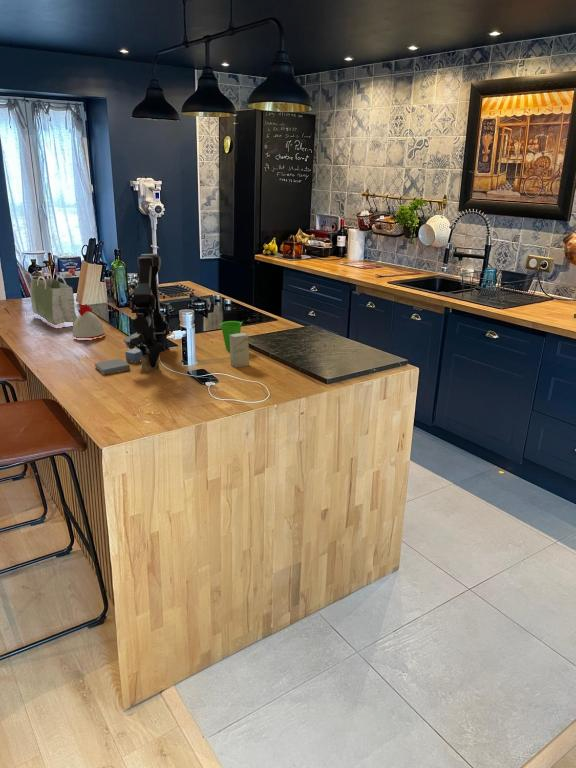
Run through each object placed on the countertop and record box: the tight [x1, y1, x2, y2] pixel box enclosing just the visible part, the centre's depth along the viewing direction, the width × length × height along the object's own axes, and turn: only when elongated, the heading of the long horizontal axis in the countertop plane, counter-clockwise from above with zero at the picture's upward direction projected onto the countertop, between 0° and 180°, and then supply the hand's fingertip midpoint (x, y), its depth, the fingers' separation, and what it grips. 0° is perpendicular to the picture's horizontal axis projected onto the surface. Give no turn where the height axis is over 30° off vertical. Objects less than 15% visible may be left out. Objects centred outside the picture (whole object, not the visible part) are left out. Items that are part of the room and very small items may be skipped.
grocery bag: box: [29, 274, 78, 325], centre depth 291 cm, size 32×14×23 cm, turn 40°
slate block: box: [124, 348, 142, 363], centre depth 231 cm, size 5×5×4 cm
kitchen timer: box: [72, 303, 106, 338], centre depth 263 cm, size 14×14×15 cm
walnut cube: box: [140, 354, 160, 372], centre depth 221 cm, size 5×5×5 cm
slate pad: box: [94, 358, 131, 375], centre depth 222 cm, size 10×10×2 cm
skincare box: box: [229, 332, 250, 368], centre depth 221 cm, size 6×4×12 cm
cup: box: [219, 320, 243, 352], centre depth 241 cm, size 9×9×11 cm
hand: (150, 365), depth 222 cm, fingers closed on walnut cube, 5 cm apart
